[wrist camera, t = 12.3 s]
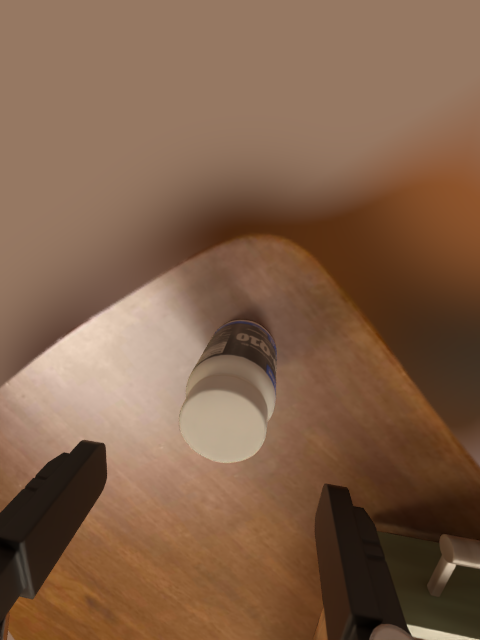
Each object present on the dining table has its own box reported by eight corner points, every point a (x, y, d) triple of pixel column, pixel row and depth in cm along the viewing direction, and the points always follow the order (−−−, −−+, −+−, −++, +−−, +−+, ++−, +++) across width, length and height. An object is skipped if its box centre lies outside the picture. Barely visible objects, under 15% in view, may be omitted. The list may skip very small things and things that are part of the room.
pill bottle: (290, 353, 21) (298, 438, 13) (241, 390, 22) (220, 486, 14) (245, 303, 20) (223, 360, 12) (196, 345, 21) (148, 420, 13)
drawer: (378, 481, 22) (411, 567, 17) (571, 515, 21) (673, 619, 16) (326, 632, 29) (337, 729, 23) (471, 664, 28) (518, 773, 22)
